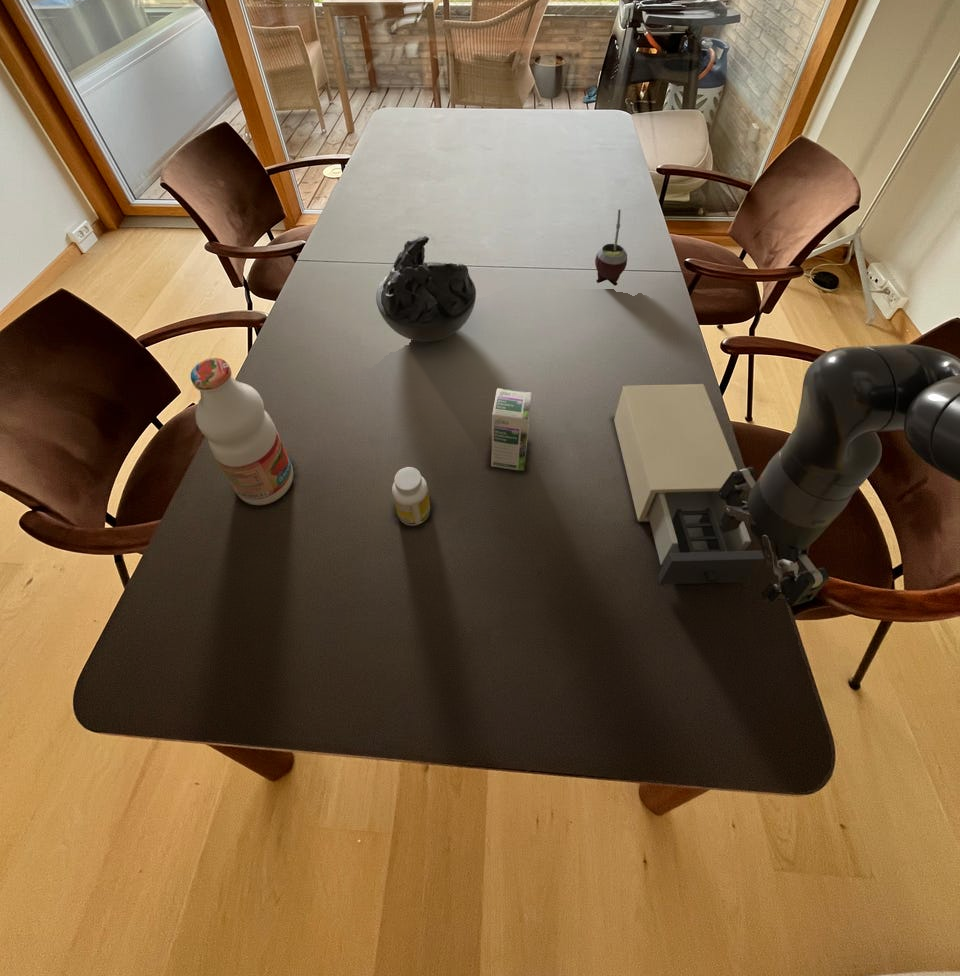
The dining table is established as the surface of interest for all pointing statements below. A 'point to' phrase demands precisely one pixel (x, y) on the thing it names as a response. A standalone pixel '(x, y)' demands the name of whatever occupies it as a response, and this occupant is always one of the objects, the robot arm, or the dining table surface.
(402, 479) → the supplement bottle
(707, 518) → the rack
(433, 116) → the dining table surface
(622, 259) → the mate gourd
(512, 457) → the syrup box
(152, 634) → the dining table surface
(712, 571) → the two-tone hollow box
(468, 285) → the coal bowl
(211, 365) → the fruit juice
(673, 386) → the cream drawer box
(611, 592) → the dining table surface
